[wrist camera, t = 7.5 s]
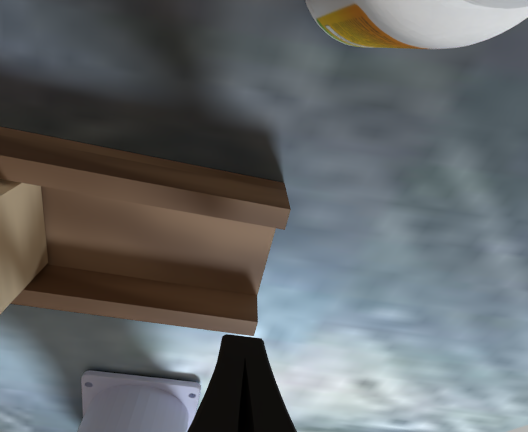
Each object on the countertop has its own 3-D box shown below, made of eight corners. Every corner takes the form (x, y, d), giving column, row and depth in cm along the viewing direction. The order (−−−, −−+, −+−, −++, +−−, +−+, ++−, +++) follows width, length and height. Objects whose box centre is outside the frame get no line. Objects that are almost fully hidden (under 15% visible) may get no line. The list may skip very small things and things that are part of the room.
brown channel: (253, 296, 20) (253, 335, 17) (-77, 247, 17) (-135, 284, 15) (284, 182, 16) (290, 209, 14) (-121, 102, 14) (-207, 116, 11)
